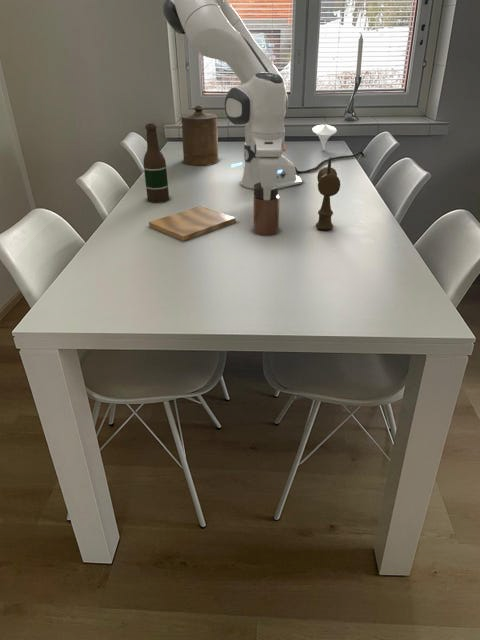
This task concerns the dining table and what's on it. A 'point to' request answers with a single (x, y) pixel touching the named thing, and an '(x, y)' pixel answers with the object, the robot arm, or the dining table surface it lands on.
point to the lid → (259, 191)
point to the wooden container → (200, 138)
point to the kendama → (327, 195)
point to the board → (192, 223)
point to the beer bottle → (155, 168)
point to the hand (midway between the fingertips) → (266, 195)
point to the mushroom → (324, 133)
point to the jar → (266, 216)
